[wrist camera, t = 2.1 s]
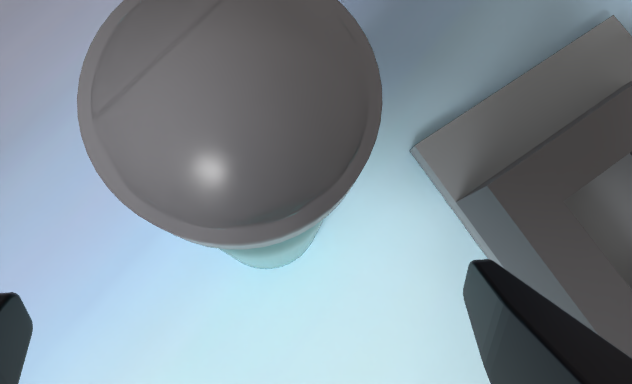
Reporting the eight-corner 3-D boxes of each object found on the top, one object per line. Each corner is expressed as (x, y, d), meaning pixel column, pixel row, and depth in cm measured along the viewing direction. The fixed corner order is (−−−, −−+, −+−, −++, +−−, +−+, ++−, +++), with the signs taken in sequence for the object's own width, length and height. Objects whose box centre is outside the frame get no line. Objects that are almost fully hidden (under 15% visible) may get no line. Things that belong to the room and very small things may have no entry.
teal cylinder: (343, 232, 20) (441, 134, 8) (249, 296, 19) (178, 307, 7) (283, 143, 21) (277, -86, 8) (189, 201, 20) (22, 48, 7)
